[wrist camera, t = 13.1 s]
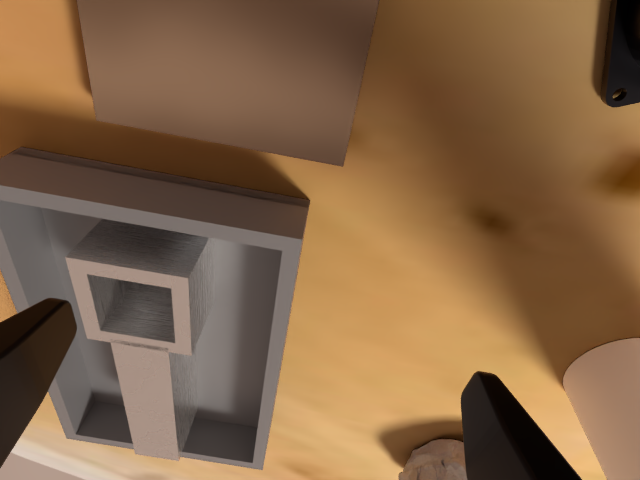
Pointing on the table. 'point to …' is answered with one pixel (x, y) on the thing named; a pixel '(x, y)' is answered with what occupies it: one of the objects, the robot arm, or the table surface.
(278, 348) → the tray
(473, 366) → the table surface
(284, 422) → the table surface
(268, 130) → the stud board
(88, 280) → the square nut with handle
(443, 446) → the pebble
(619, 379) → the cylindrical container
